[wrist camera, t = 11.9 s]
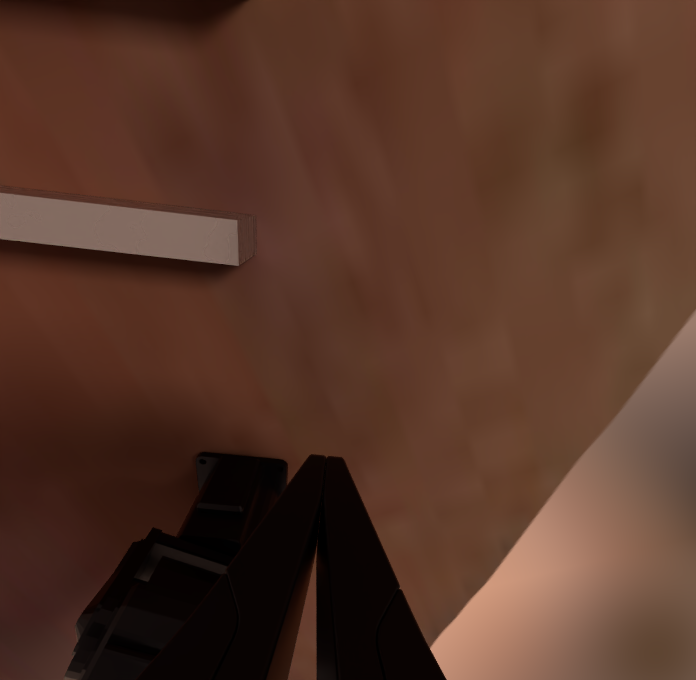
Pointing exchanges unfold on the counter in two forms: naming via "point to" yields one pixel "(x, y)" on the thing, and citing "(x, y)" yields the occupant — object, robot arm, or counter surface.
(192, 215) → the chute
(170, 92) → the counter surface
